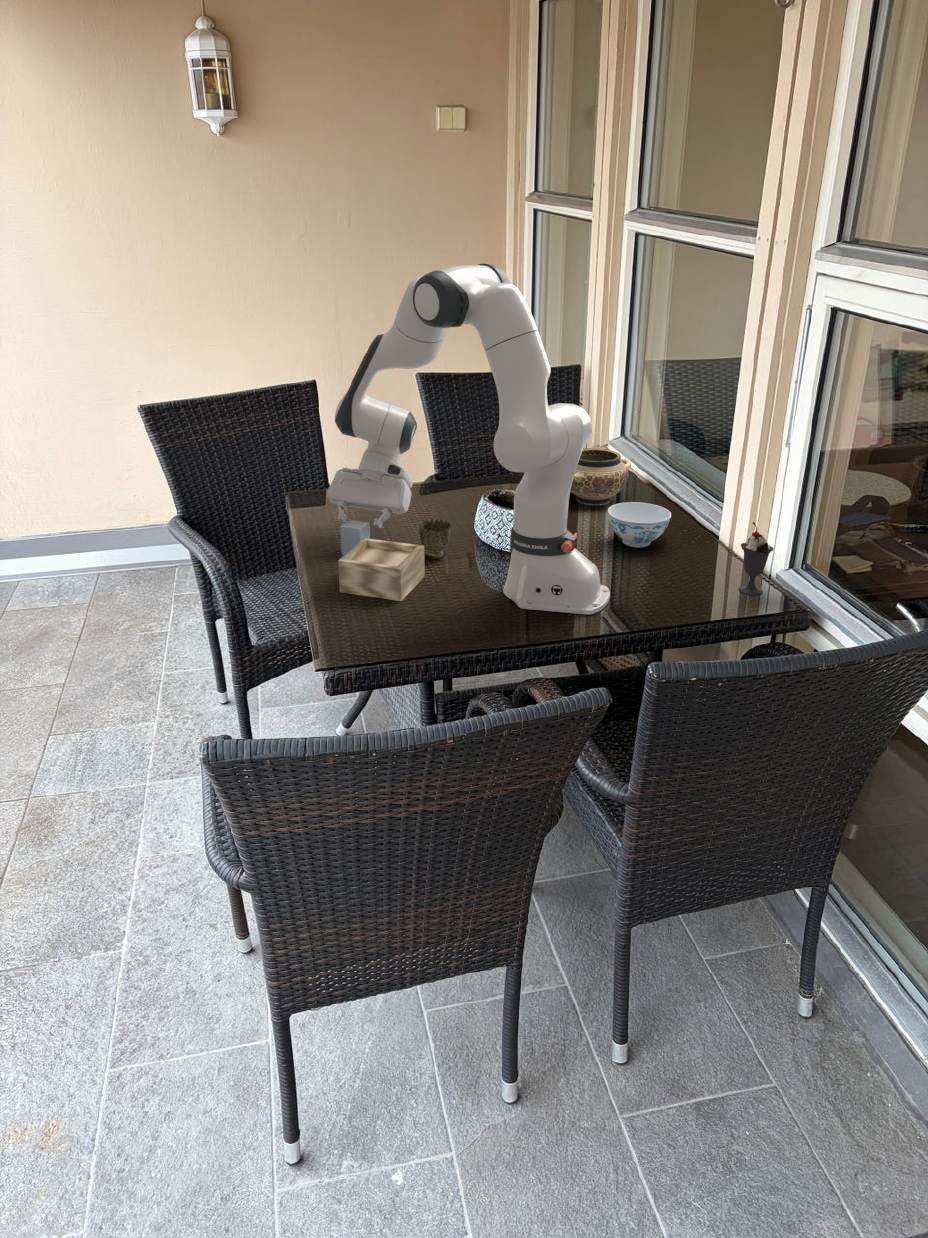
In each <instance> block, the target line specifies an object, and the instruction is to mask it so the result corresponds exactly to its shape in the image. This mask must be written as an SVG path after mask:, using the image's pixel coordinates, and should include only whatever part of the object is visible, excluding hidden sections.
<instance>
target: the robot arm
mask: <svg viewBox="0 0 928 1238" xmlns="http://www.w3.org/2000/svg"><path fill="white" fill-rule="evenodd" d="M398 305H399V306H398V309H397V311H396V315H395V317H394V322H393V324H392V326H391V327H390V329H389V330H388V331H387V332H385V333H381V334H377V335H376V336H375V337H374V339H373V340H372V341H371V343H370V345H369V346H368V349H367V351H366V352H365V354H364V356H363V357H362V360H361V361H360V364H359V366H358V368H357V370H356V372H355V374H354V376H353V378H352V381H351V383H350V385H349V387H348V390H347V391H346V392H345V393H344V395H343V396H342V398H341V399H340V401H339V402H338V405H337V406H336V410H335V413H334V423H335V425H336V427H337V428H338V430H339V431H340V433H341V434H342V435H345V436H348V437H351V438H352V437H353V438H358V439H361V440H364V441H367V442H368V443H367V447H366V449H365V451H364V452H363V455H362V457H361V459H360V463H359V465H358V468H348V467H343V468H341V469H339V470H337V471H335V474H334V476H333V477H334V478H333V479H332V481H331V484H330V485H329V486H328V489H327V491H326V497H327V499H328V501H330V503H331V504H332V505H336V506H337V510H338V515H337V521H338V522H340V523H343V524H345V523H346V522H347V519H348V515H347V514H346V513H345V511H346V510H347V508H348V507H351V508H358V509H364V510H369V511H370V510H371V511H376V512H382V514H381V515H380V516H379V517H378V518H377V517H375V518H374V519H373V520H374V522H373V524H372V526H373V527H374V528H377V529H382V528H383V524H384V522H386V521H387V520H388V519H389V518H390V517H391V515H392V514H396V515H405V514H406V513H407V511H408V510H409V508H410V503H411V499H412V490H411V488H412V487H413V485H414V483H413V479H412V478H411V475H410V474H409V473H408V472H407V470H406V469H405V468H404V467H402V466H399V465H400V459H401V457H402V455H403V454H404V453H406V452H407V451H409V450H411V447H412V446H411V445H412V441H413V438H414V436H415V434H416V431H417V428H418V423H417V421H416V419H415V417H414V414H413V413H412V412H411V411H409V410H407V409H405V408H403V407H400V406H397V405H394V404H390V403H387V402H384V401H382V400H379V399H376V398H373V397H371V396H370V395H368V394H367V391H368V389H369V388H370V386H371V384H372V382H373V380H374V377H375V375H376V374H377V373H379V372H381V371H384V370H390V369H391V370H394V369H405V370H406V369H407V370H411V369H413V370H414V369H417V368H422V367H424V366H426V365H429V364H430V363H432V361H434V360H435V359H436V358H437V356H438V354H439V352H440V351H441V347H442V345H443V343H444V339H445V337H446V334H447V330H448V329H449V328H459V327H461V326H463V325H471V326H472V327H474V328H475V329H476V330H477V333H478V334H479V337H480V340H481V344H482V347H483V349H484V350H483V351H484V352H485V355H486V358H487V362H488V365H489V368H490V371H491V373H492V376H493V377H492V378H493V380H494V382H495V388H496V391H497V392H496V393H497V396H498V397H497V399H498V406H499V407H498V410H499V420H498V421H499V422H498V427H497V430H496V432H495V435H494V439H493V452H494V454H495V457H496V459H497V461H498V462H499V464H500V466H502V467H503V468H504V469H506V470H507V471H509V472H513V473H523V475H522V478H521V480H520V482H519V483H518V485H517V486H516V489H515V491H514V495H513V520H512V521H513V523H512V527H511V528H510V536H509V548H510V549H509V552H510V554H511V555H510V560H509V561H510V562H509V567H508V573H507V576H506V581H505V583H504V587H503V589H502V591H503V594H504V595H505V596H506V597H507V598H509V599H510V600H512V601H513V602H514V603H515V604H516V606H517V607H518V608H520V609H523V610H534V611H535V610H536V611H545V612H553V613H555V612H557V613H564V614H565V613H567V614H578V615H594V614H597V613H598V612H600V611H602V610H603V609H604V608H605V607H606V606H607V605H608V603H609V602H610V600H611V591H610V588H608V586H606V585H603V584H601V579H600V571H599V569H598V567H597V565H596V564H595V563H593V562H592V561H591V560H590V559H588V558H587V557H586V556H585V555H584V554H583V553H582V552H580V551H579V550H578V549H577V548H576V540H577V537H578V536H577V534H578V532H574V534H572V532H571V531H570V530H569V529H568V528H567V526H568V514H569V503H570V502H569V501H570V495H571V492H570V490H571V486H572V482H573V479H574V475H575V472H576V469H577V465H578V462H579V459H580V456H581V453H582V451H583V449H585V447H586V445H587V444H588V442H589V441H590V439H591V438H592V437H591V436H592V432H593V431H592V430H593V425H592V424H593V423H592V420H591V417H590V415H589V414H588V413H587V411H586V410H585V409H584V408H583V407H581V406H580V405H578V404H574V403H567V402H566V403H565V402H564V403H562V402H558V403H554V404H550V405H549V401H548V390H547V389H548V381H549V380H550V376H551V373H552V372H551V371H552V370H551V369H552V368H551V365H550V362H549V358H548V355H547V352H546V350H545V347H544V344H543V341H542V338H541V334H540V332H539V329H538V326H537V324H536V321H535V318H534V316H533V314H532V312H531V309H530V307H529V305H528V303H527V300H526V299H525V297H524V296H523V293H522V292H521V290H520V288H518V287H517V286H516V285H514V284H512V283H511V280H510V278H509V276H508V274H507V272H505V270H504V269H503V268H501V267H500V266H498V265H495V264H491V263H479V264H470V265H469V264H468V265H462V264H461V265H459V264H458V265H456V266H455V265H454V266H449V267H447V268H443V269H440V270H439V269H438V270H433V271H430V272H428V273H425V274H424V275H423V274H422V275H419V276H415V278H413V279H412V280H411V281H410V282H409V284H408V285H407V288H406V290H405V291H404V294H403V296H402V298H401V300H400V303H399V304H398Z"/></svg>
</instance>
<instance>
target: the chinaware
mask: <svg viewBox="0 0 928 1238" xmlns="http://www.w3.org/2000/svg"><path fill="white" fill-rule="evenodd" d="M607 517H608V521H609V525H610V526H611V529H612V530H613V531H612V532H614V533H615V534H616V536H618V537H619V538H620V539H622V541H621V542H622V543H623V545H626V546H628V547H632V548H645V547H648V546H650V545H651V542H653V541H655V540H657V539H658V538H659V537H660V536H661V535H662V534H663V533H664V532H665V530H666V529H667V527H668V525H669V523H670V521H671V517H672V512H671V511H670V510H668V509H667V508H665V507H664V506H662V505H661V506H660V505H657V504H653V503H650V502H649V503H648V502H639V501H638V502H636V501H631V502H629V501H628V502H620V503H616V504H613V505H611V506H609V507H608V508H607Z"/></svg>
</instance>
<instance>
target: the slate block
mask: <svg viewBox="0 0 928 1238" xmlns="http://www.w3.org/2000/svg"><path fill="white" fill-rule="evenodd" d="M370 523H371V522H370V521H369V522H367V521H361V520H353V519H349V520H348V521H346V522H345V523H343V524H341V525H340V527H339V528H340V529H339V530H340V549H341V556H344V555H345V554H347V553H348V552H349V551H350V550H351V549H353V548H354V547H355V546H356V545H357V544H359V543H360V542H361V541H362V540H363V539H365V538H368V539H371V524H370Z"/></svg>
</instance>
